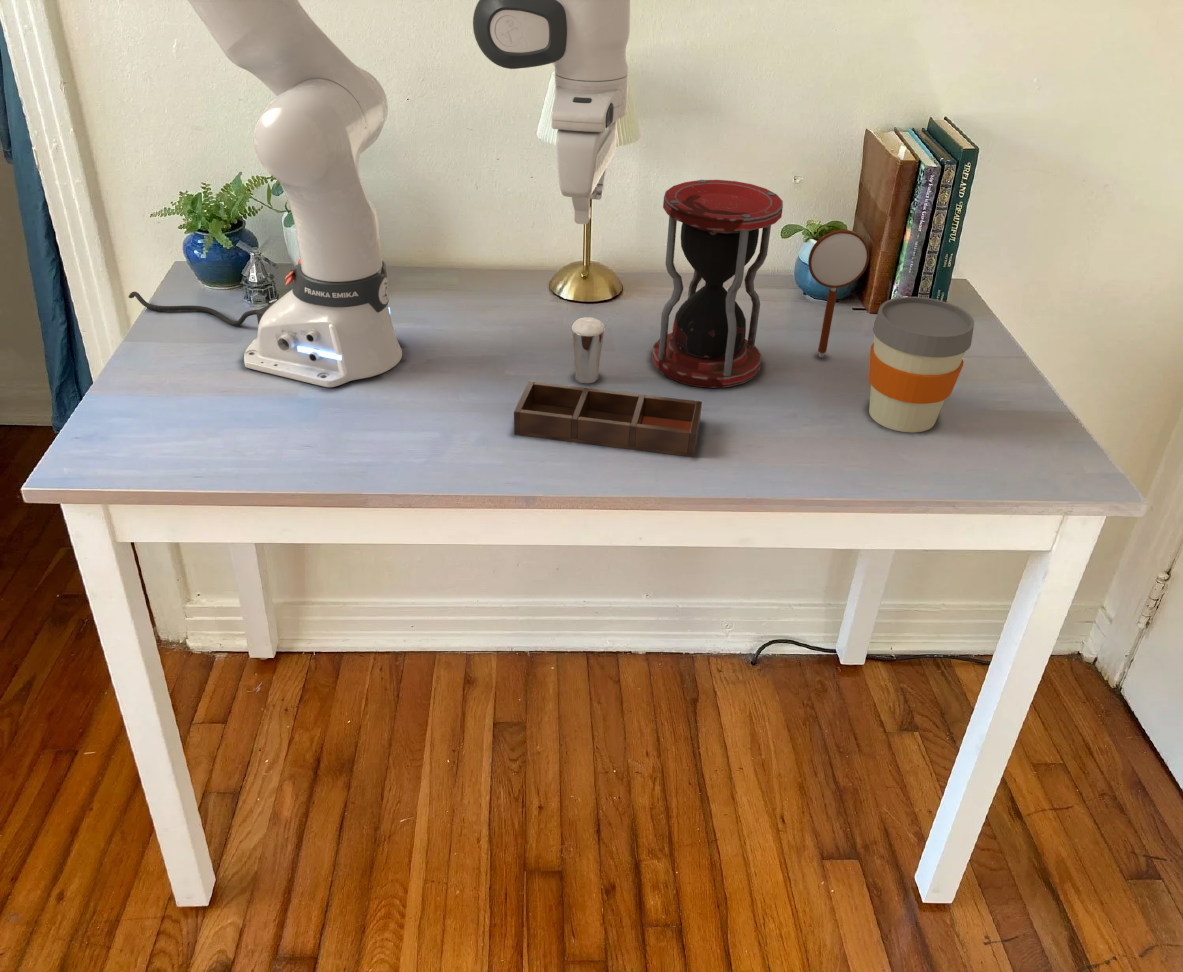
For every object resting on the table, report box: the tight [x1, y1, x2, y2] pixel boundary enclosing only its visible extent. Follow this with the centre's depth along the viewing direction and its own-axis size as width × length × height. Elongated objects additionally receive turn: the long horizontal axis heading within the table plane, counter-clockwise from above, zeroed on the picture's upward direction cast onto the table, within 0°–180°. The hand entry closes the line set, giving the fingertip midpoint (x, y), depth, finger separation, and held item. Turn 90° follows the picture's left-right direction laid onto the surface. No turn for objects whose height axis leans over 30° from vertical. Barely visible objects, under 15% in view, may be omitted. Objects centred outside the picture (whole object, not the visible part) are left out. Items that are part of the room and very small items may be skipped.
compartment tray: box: [513, 380, 703, 458], centre depth 132 cm, size 24×8×4 cm, turn 80°
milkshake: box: [571, 317, 611, 385], centre depth 141 cm, size 4×5×10 cm
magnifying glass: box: [807, 229, 870, 358], centre depth 146 cm, size 9×2×20 cm, turn 91°
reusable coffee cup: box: [867, 296, 975, 433], centre depth 134 cm, size 13×13×15 cm
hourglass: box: [651, 179, 784, 389], centre depth 142 cm, size 16×16×25 cm
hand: (589, 209), depth 129 cm, fingers open, 8 cm apart
